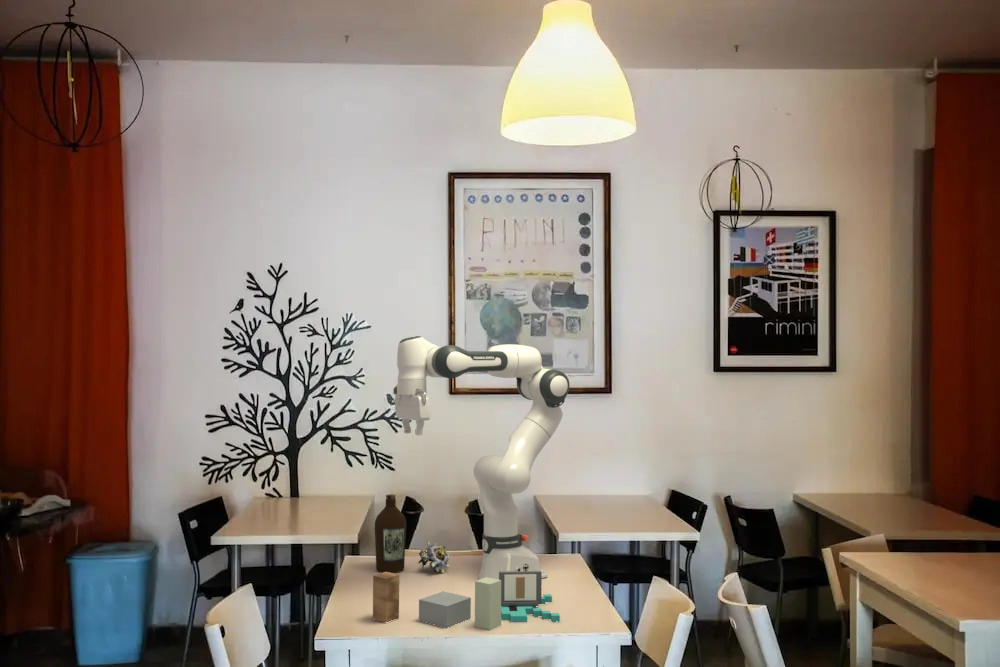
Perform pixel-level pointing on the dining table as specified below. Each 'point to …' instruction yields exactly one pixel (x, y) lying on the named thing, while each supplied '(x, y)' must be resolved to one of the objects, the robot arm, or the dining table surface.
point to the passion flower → (435, 557)
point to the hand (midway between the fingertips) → (413, 434)
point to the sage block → (487, 603)
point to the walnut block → (385, 596)
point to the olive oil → (390, 538)
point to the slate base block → (445, 609)
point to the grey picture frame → (520, 588)
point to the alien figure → (528, 611)
